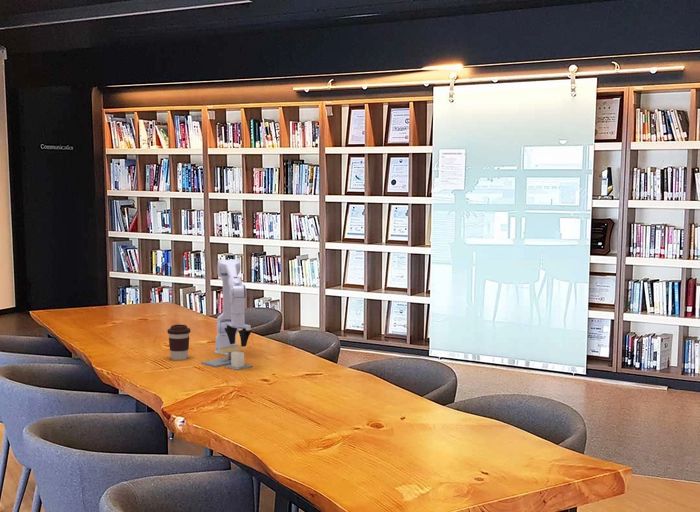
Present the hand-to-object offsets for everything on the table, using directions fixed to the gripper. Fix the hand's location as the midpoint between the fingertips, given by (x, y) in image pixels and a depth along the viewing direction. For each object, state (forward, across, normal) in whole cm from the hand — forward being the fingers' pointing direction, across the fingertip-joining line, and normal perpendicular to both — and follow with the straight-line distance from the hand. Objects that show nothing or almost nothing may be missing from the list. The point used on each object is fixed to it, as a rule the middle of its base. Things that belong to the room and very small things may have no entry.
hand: (238, 345), depth 327 cm
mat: (+9, 0, 0) cm, 9 cm away
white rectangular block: (+6, 0, -2) cm, 6 cm away
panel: (+9, -10, -1) cm, 14 cm away
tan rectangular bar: (+5, -10, +4) cm, 12 cm away
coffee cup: (+10, -31, -8) cm, 33 cm away
